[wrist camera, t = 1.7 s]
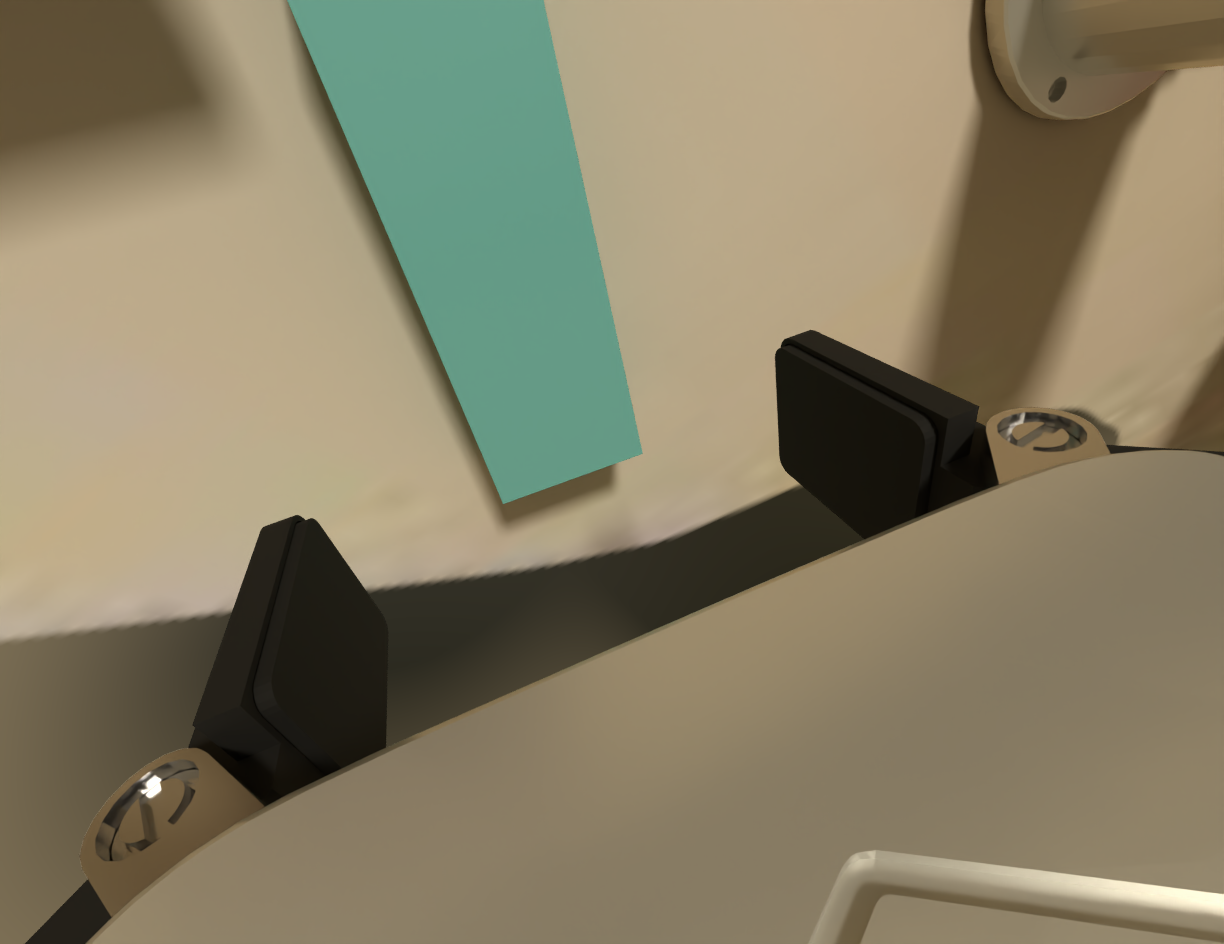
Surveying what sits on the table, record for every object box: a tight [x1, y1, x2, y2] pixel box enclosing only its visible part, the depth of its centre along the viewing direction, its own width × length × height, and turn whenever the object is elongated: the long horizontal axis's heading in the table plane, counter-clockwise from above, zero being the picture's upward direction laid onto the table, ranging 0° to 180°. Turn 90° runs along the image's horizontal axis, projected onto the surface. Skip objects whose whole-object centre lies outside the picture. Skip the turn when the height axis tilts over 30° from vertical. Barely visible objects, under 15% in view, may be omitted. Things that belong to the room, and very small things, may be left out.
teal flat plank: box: [287, 0, 643, 504], centre depth 18 cm, size 6×18×4 cm, turn 13°
